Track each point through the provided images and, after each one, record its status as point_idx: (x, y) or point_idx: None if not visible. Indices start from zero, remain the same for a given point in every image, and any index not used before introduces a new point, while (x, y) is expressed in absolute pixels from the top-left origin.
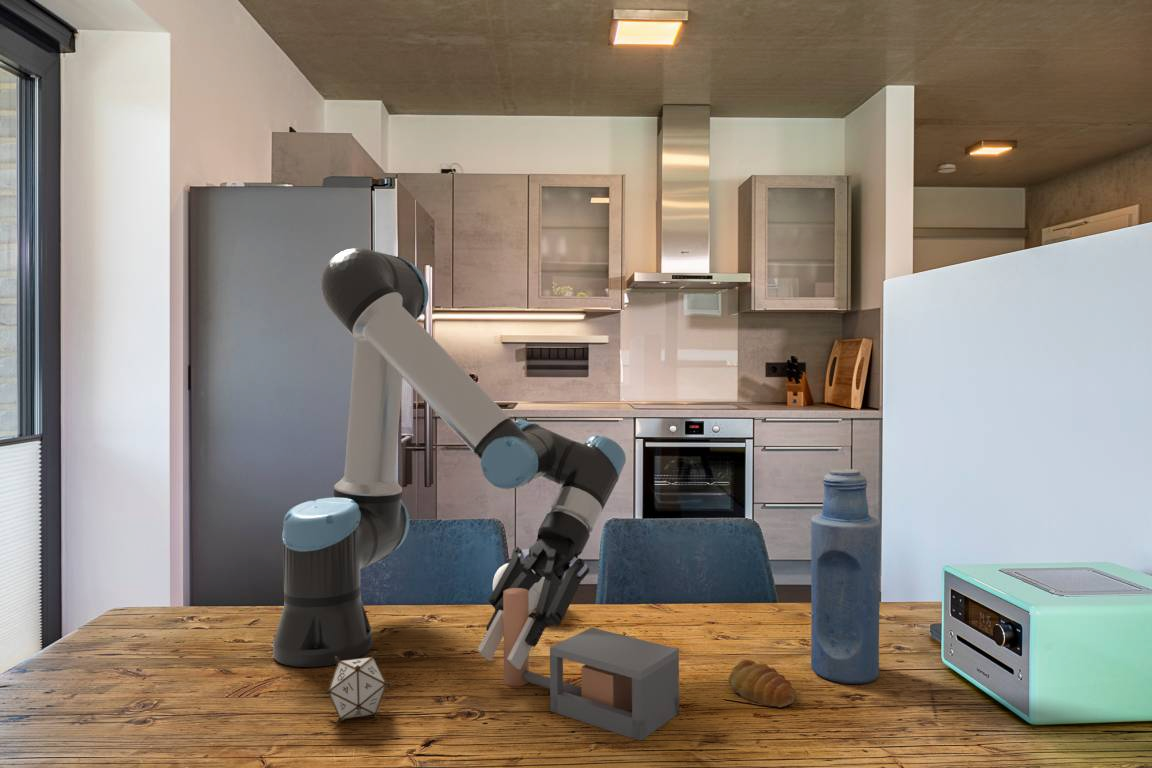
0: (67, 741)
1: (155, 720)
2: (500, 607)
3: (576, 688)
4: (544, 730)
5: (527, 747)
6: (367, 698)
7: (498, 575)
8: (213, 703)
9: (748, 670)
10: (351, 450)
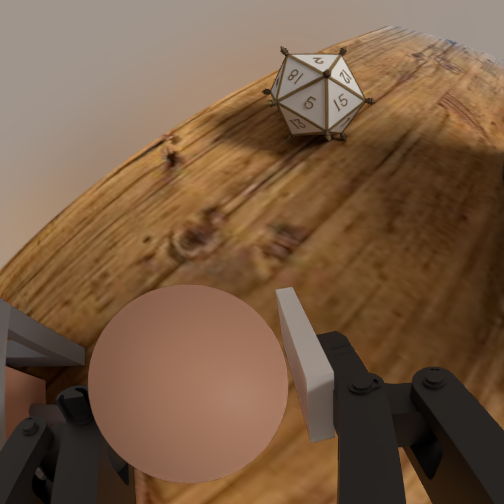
0: (401, 36)
1: (414, 58)
2: (342, 385)
3: (57, 409)
4: (58, 289)
5: (56, 240)
6: (271, 93)
7: None
8: (434, 83)
9: None
10: None
